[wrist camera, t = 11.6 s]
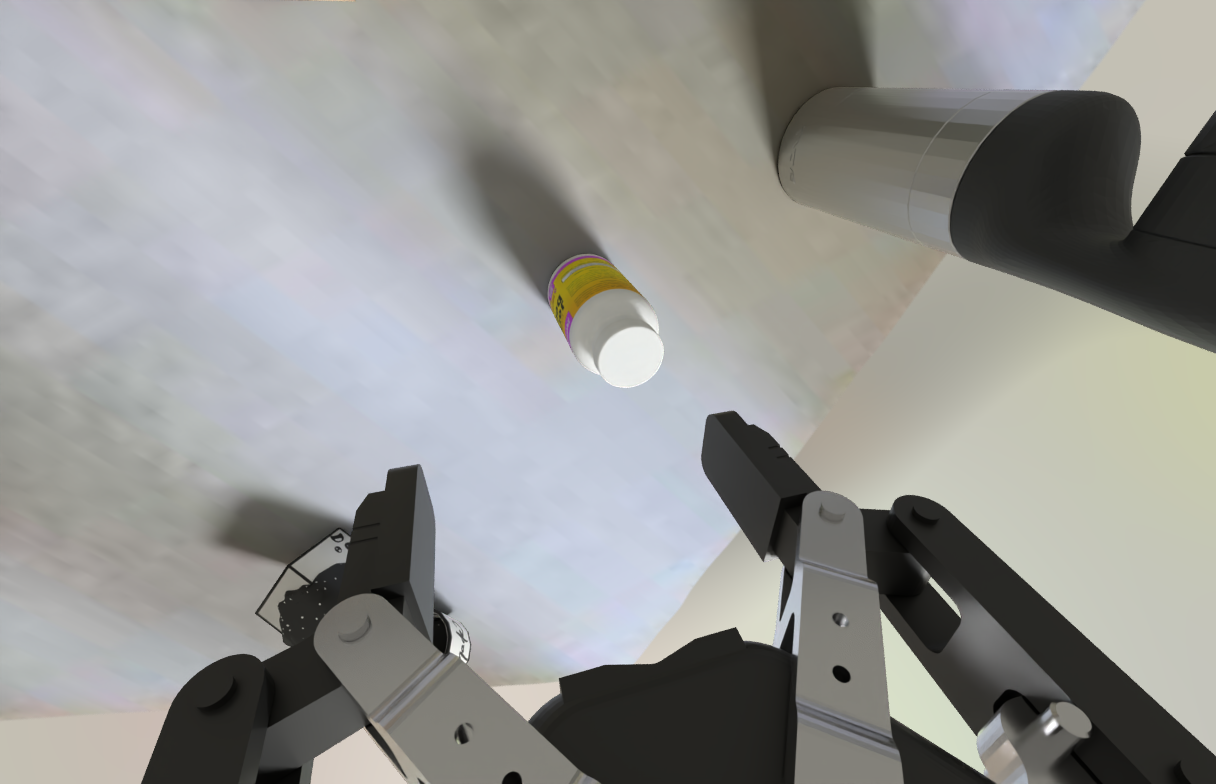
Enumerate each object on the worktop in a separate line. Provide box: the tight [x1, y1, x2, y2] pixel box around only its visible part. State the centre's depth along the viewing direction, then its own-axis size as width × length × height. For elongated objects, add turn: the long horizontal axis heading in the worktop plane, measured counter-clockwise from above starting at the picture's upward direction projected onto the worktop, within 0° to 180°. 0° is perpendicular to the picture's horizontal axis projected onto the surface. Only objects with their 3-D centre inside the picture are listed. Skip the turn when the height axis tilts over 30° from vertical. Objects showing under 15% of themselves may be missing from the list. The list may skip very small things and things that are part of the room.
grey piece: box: [255, 528, 471, 664], centre depth 50 cm, size 25×10×10 cm, turn 27°
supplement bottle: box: [548, 254, 664, 388], centre depth 37 cm, size 7×7×13 cm
